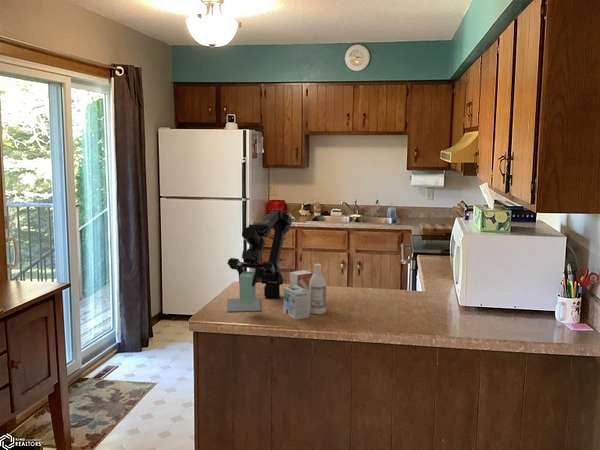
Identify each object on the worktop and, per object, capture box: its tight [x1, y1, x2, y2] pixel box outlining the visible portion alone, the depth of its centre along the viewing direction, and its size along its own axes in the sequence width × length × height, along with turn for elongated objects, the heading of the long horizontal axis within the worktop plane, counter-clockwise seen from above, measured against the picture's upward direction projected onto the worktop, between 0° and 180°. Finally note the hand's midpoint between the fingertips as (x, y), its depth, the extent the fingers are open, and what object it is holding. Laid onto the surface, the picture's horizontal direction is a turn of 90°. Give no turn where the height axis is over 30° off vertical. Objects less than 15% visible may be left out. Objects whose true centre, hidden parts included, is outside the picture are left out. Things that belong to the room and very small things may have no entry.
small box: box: [289, 269, 313, 291], centre depth 238 cm, size 8×6×13 cm
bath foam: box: [309, 263, 327, 315], centre depth 222 cm, size 7×7×20 cm
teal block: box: [238, 270, 257, 305], centre depth 218 cm, size 5×5×12 cm
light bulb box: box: [283, 286, 310, 321], centre depth 219 cm, size 11×7×11 cm, turn 29°
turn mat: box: [226, 297, 262, 313], centre depth 232 cm, size 14×18×1 cm
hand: (246, 285), depth 217 cm, fingers closed on teal block, 5 cm apart
